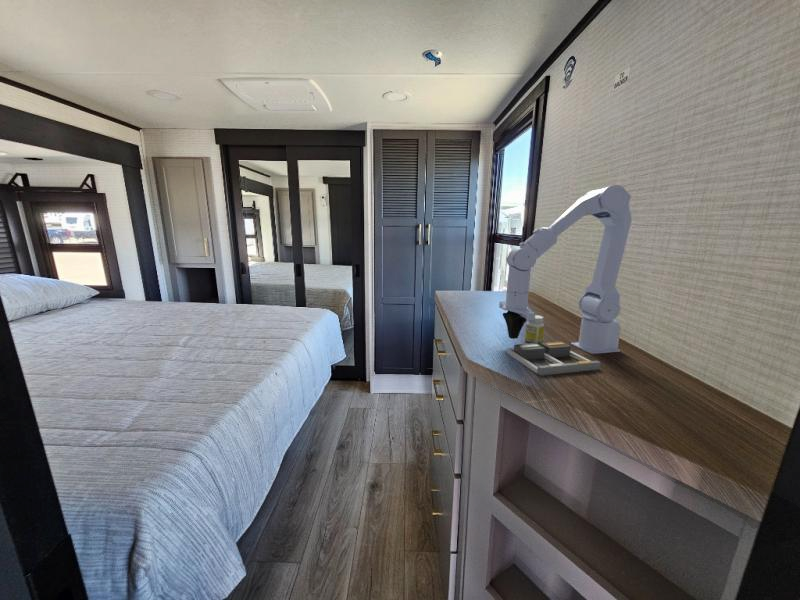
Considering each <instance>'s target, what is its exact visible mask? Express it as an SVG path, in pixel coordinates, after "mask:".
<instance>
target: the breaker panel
mask: <svg viewBox="0 0 800 600" xmlns="http://www.w3.org/2000/svg"><path fill="white" fill-rule="evenodd" d="M506 354H508V355H509V356H511V357H512V358H513V359H515V360H517V361H518V363H519V362H520V364H522V365H524V366H525V367H527V368H528V369H529V370H532V372H534V373H535V374H537V375H538V376H548V375H558V374H559V375H560V374H566V373H579V372H586V371H596V370H600V369H601V361H599V360H591V359H588V358H587V357H585V356H582V355H580V354H578V353H576V352H574V351H573V350H570V356H569V357H570V358H571V357H572V358H573V359H575V360H577V361H576V362H569V363H564V362H563V361H561V360H558V359H557V358H556V357H554V358H553V357H552V356H550V355H548V354H546V353H545V354H544V358H543V359H545V360H547V361H548V362H550V364H549V363H548V365H538V366H536V365H535V364H534V363H532V362H530V360H526V359H524V358H523V357H521V356H520V355H518V354H517V353H515V352H514V350H512V349H511V348H507V349H506Z"/></svg>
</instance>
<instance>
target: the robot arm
mask: <svg viewBox="0 0 800 600" xmlns="http://www.w3.org/2000/svg"><path fill="white" fill-rule="evenodd" d="M631 198H632V195H631V194H630V192H628V190H627V189H626V188H624V186H622V185H620V184H612V185H610V186H607V187H606V186H605V187H603V188H598V189H592V190H589V191H587V192H586V193H585V195H584V196H581V197H580V198H578V199H576V202H574V203H573V204H572V205H570V206H569V208H568V209H566V211H565V212H563V213H562V215H560V216H559V217H558V218H557V219H556V220H555V221H553V222H552V224H550V225H549V226H548V227H547V226H546V227H543V226H542V227H540V228H535V229H534V230H533V231H532V235H531V236H529V237H528V238H527V239H525V241H524V242H523V241H521V242H520V243H518V244H519V247H516V248H513V249H511V251H509V252H508V255H507V256H506V257H505V259H506V263H507V265H508V275H507V283H506V296H505V297H506V298H505V300H504V301H503V300H502V301H499V306H498V308H500V309H501V310H503V311H507V312H503V313H502V317H503V318H504V320H505V325H506V328H507V329H506V330H507V333H508V338H509V339H511V340H512V339H518V338H519V336H520V333H521V331H522V328H523V327H524V324H525V323H527V322H528V320H535V315H536V312H533V311H532V310H531V309H530V308H529V307H528V303H529V302H528V301H529V293H530V292H529V290H530V281H531V270H532V268H533V267H535V265H536V262H537V259H539V258H540V257H541V256H542V255H544V254H545V253H546V252H547V251H549V250H550V249H551V248H552V247H554V246H555V245H556V244H557V241H558V236H559V235H562V233H563V232H565V231H567V230H568V229H569V228H570V227H571V226H573V225H574V224H575V223H577V222H578V221H579V220H581V219H582V218H584V217H587V216H592V217H594V218H597V219H598V220H599V221H600V222H601V223H602V224H603V226H604V231H603V234H602V239H601V242H600V247H599V251H598V255H597V259H596V265H595V269H594V273H593V277H592V281H591V283H590V284H589V285H588V286H587V287H585V289H584V292H583V295H581V297H580V299H579V301H578V307H579V310H580V311H581V312H582V313H581V323H580V328H579V337H578V342H577V341H575V342H571V343H570V345H572V346H574V347H576V348H578V349H580V350H583V351H584V352H587V353H589V354H590V355H591V354H592V355H596V354H607V353H609V354H610V353H619V352H620V351H621V350H620V349H619V344H620V343H619V342H620V341H619V340H620V335H621V330H622V329H621V324H620V322H618V320H616V319H617V318H618V316H619V315H620V314H621V313H620V312H621V309H622V308H621V303H620V300H621V294H620V293H619V291H618V289H617V287H616V284H617V280H618V276H619V273H620V269H621V265H622V260H623V257H624V254H625V253H624V252H625V248H626V245H627V241H628V237H629V232H630V228H631V225H632V213H631V208H630V202H631Z"/></svg>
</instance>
